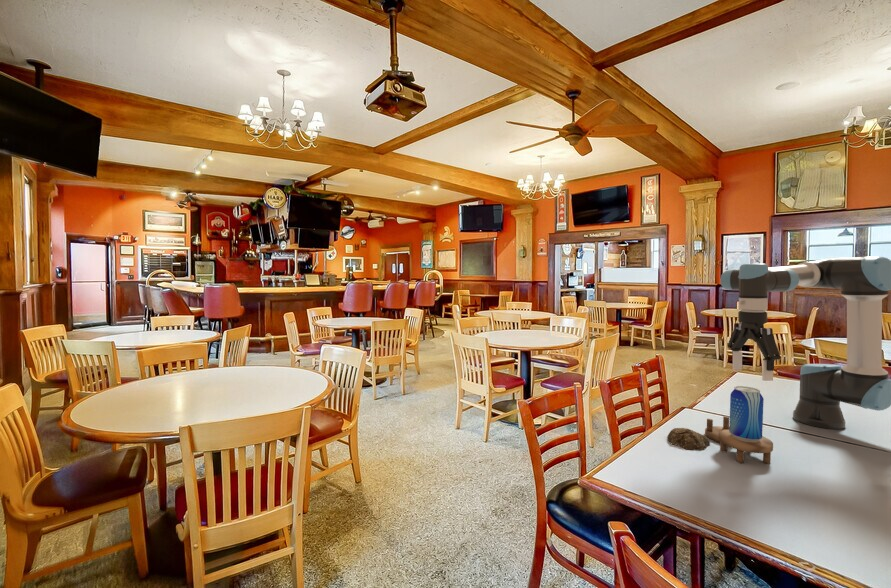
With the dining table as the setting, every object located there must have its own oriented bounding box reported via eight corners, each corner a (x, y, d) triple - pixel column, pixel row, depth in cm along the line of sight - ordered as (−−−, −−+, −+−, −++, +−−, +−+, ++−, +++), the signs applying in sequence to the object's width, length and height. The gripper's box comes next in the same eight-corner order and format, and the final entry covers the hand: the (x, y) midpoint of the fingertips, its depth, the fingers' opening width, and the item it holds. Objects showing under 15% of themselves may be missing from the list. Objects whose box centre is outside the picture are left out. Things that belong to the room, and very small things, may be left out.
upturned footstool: (724, 429, 150) (724, 413, 150) (763, 444, 137) (763, 427, 137) (695, 433, 146) (696, 417, 146) (733, 449, 133) (733, 431, 132)
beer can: (768, 444, 122) (769, 393, 122) (737, 442, 124) (739, 392, 123) (752, 434, 131) (754, 386, 130) (724, 432, 132) (725, 384, 131)
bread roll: (673, 433, 147) (673, 420, 147) (712, 443, 139) (712, 429, 138) (661, 443, 138) (662, 429, 138) (702, 454, 130) (703, 439, 129)
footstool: (751, 447, 134) (751, 429, 134) (784, 467, 120) (785, 447, 120) (708, 446, 135) (709, 429, 135) (736, 466, 121) (737, 447, 121)
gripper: (716, 307, 143) (715, 366, 144) (770, 315, 118) (769, 385, 119) (737, 307, 142) (736, 365, 143) (796, 314, 117) (795, 385, 118)
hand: (751, 374), depth 131 cm, fingers open, 13 cm apart
